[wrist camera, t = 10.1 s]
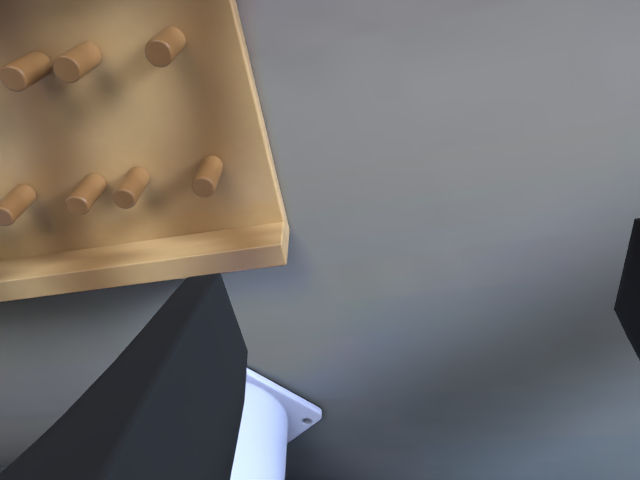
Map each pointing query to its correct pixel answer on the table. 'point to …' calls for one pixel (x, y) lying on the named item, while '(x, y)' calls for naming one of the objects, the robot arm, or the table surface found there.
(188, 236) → the rack
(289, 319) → the table surface
